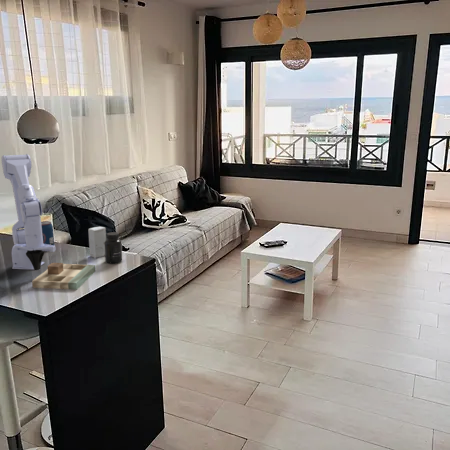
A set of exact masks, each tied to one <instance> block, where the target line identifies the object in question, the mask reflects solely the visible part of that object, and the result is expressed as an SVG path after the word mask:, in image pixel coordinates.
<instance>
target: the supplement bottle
mask: <svg viewBox="0 0 450 450" xmlns="http://www.w3.org/2000/svg"><path fill="white" fill-rule="evenodd" d="M122 243H123V242H122V240H121V239H120V233H119V232H115V231H112V232H108V233H107V232H106V241H105V243H104V245H105V255H104V261H105V263H106V264H108V265H117V264H120V263H122V262H123V245H122Z"/></svg>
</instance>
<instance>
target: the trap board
mask: <svg viewBox="0 0 450 450" xmlns="http://www.w3.org/2000/svg"><path fill="white" fill-rule="evenodd" d="M63 270H64V271H62V272H61V273H60V274H59V275H58V274H48V268H47V269H46V270H45V271H43V272H42V273H40V274H39V275H38V276H37V277H35V278H34V279H32V281H31V284H32V289H55V290H56V289H57V290H75V291H76V290H78V289H79V288H80V287H82V286H83V284H85V283H86V281H87V280H89V278H90V277H91V276H93V275H94V274H95V273H96V271H97V270H96V265H95V264H75V263H74V264H73V263H63Z"/></svg>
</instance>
